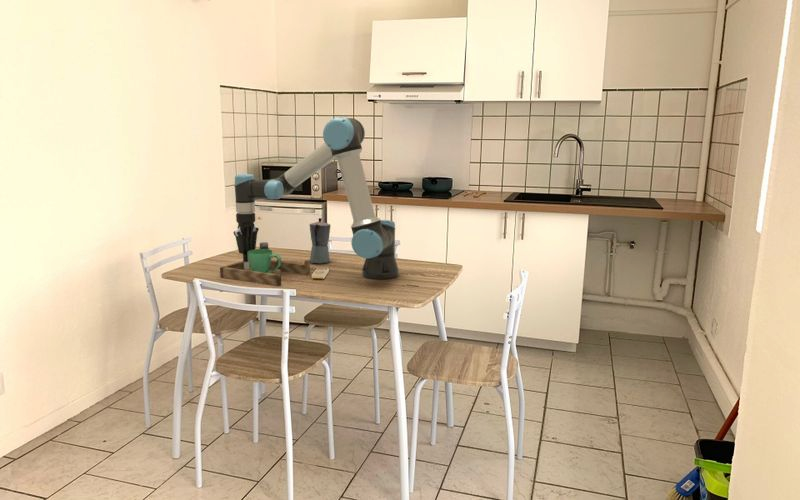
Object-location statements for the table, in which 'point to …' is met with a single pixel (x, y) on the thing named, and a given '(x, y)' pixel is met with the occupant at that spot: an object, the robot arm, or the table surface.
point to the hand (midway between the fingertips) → (248, 269)
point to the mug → (262, 260)
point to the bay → (243, 274)
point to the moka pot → (319, 242)
